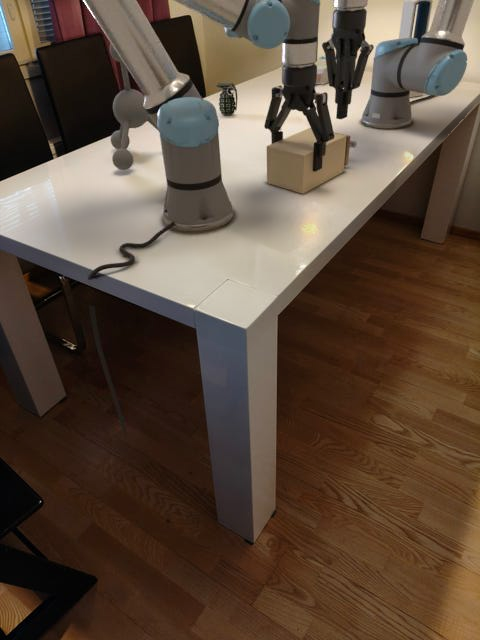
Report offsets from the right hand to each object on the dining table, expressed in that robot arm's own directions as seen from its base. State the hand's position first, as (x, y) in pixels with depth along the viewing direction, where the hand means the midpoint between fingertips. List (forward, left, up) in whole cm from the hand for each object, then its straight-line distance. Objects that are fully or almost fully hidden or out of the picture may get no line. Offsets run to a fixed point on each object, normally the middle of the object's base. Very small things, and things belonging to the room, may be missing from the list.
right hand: (341, 117), depth 124 cm
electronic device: (-70, -9, -11) cm, 72 cm away
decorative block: (-82, -50, -11) cm, 97 cm away
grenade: (-21, -53, -11) cm, 58 cm away
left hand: (+18, -2, -7) cm, 20 cm away
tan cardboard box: (+14, -2, -11) cm, 18 cm away
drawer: (+8, -1, -10) cm, 13 cm away
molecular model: (+22, -50, -11) cm, 55 cm away
